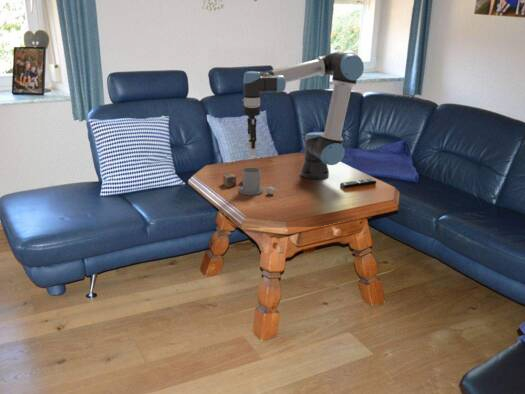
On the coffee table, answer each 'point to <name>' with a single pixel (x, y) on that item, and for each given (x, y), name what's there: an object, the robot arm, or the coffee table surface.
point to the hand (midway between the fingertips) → (251, 151)
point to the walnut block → (229, 180)
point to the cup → (251, 179)
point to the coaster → (250, 192)
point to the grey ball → (270, 190)
